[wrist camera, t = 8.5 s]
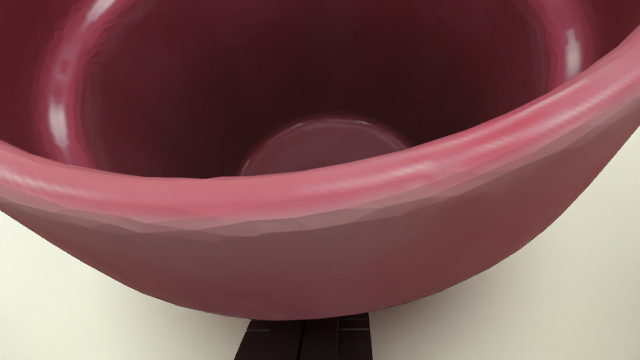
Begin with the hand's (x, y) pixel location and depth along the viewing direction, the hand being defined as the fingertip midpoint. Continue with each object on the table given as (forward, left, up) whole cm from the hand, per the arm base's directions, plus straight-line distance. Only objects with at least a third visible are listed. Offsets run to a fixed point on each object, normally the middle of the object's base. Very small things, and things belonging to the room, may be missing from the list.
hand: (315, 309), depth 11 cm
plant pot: (0, -6, -5) cm, 7 cm away
